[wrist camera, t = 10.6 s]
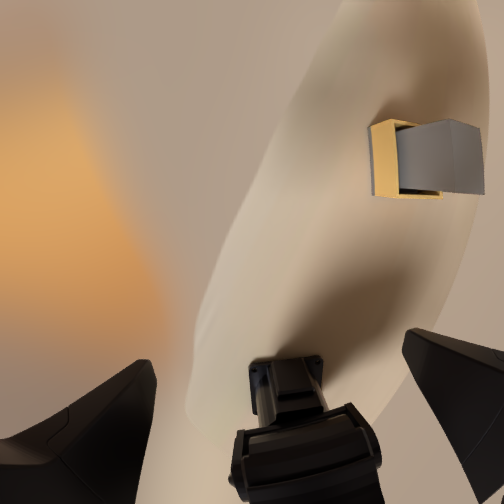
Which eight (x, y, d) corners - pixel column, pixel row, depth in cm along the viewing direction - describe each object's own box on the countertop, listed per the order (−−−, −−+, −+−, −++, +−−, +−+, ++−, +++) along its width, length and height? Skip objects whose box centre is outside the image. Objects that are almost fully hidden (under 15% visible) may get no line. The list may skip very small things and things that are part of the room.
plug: (412, 187, 19) (484, 195, 11) (383, 187, 19) (455, 192, 11) (409, 139, 18) (479, 128, 10) (380, 136, 18) (449, 118, 10)
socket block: (416, 196, 19) (442, 199, 16) (372, 195, 19) (396, 198, 16) (412, 133, 18) (438, 128, 15) (367, 127, 18) (390, 118, 15)
